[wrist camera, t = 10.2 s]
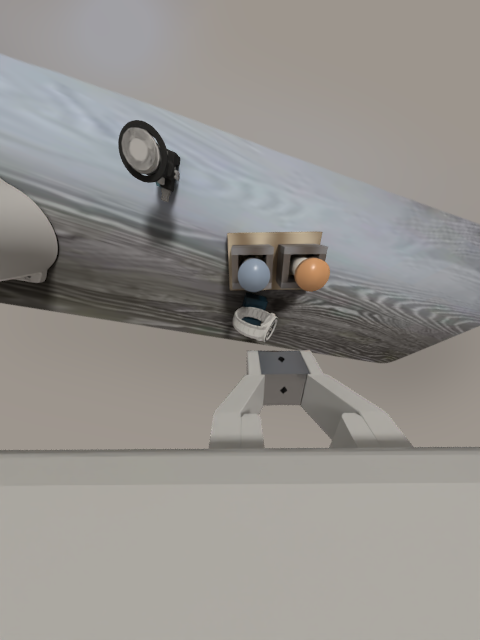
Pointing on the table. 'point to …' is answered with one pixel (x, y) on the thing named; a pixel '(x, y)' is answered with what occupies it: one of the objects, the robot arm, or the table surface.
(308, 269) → the knob
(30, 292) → the table surface
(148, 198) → the table surface
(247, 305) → the watch
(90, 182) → the table surface
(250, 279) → the knob
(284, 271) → the mount
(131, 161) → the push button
